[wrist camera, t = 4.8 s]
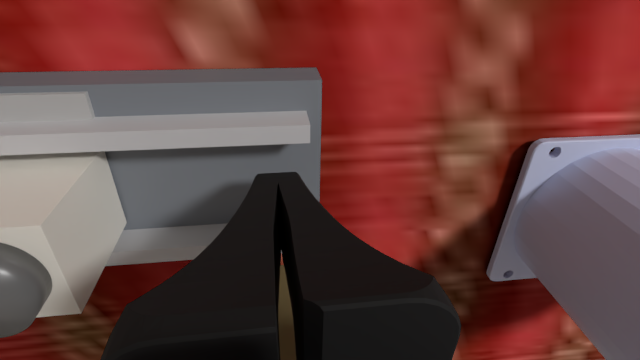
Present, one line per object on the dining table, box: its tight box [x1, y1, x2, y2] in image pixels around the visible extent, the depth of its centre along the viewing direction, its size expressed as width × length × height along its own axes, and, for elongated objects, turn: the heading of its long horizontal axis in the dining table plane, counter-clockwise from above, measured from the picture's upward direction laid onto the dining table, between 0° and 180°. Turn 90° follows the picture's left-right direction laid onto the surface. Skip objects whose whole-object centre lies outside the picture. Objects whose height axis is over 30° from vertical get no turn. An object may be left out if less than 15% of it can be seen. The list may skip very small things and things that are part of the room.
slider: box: [0, 151, 127, 338], centre depth 11 cm, size 3×3×5 cm
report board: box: [0, 68, 322, 266], centre depth 12 cm, size 18×7×4 cm, turn 89°
